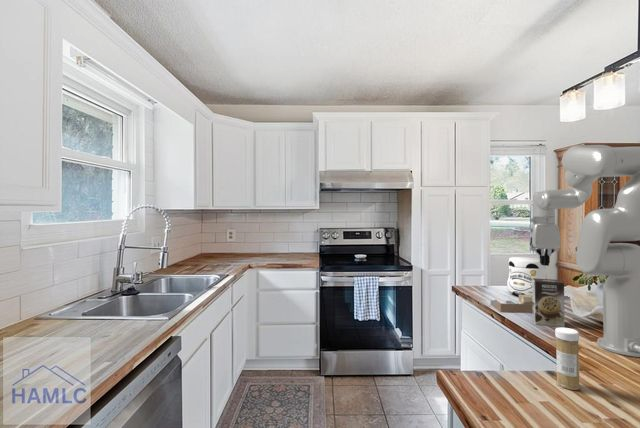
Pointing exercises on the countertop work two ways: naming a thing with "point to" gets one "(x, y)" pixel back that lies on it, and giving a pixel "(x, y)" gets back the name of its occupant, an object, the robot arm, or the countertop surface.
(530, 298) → the maple cube
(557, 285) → the cookie box
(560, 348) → the sprinkles bottle
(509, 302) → the trap board
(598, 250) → the robot arm
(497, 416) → the countertop surface
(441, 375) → the countertop surface
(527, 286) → the milk container
